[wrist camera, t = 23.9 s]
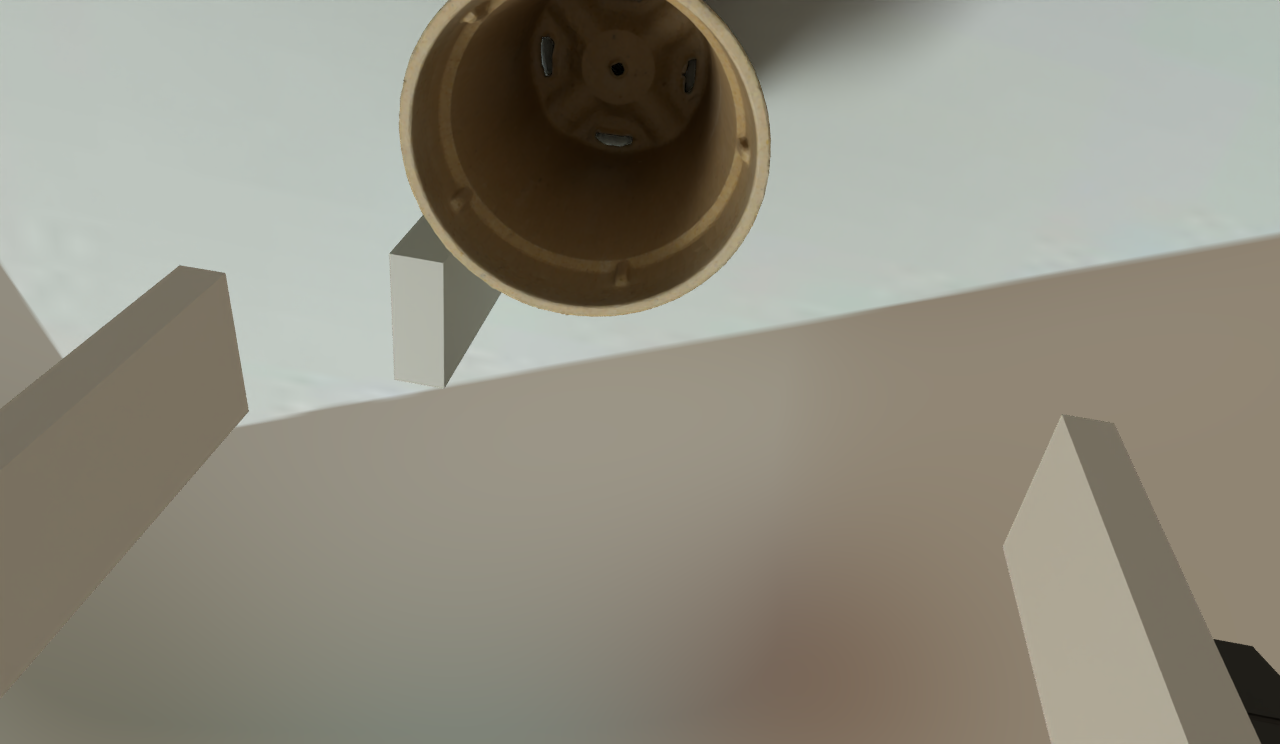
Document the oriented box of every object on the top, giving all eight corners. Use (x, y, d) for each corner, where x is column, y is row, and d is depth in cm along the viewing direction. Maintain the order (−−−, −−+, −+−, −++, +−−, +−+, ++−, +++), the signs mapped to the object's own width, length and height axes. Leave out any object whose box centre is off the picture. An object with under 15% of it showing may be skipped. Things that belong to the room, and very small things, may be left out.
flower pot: (722, -143, 27) (711, -109, 20) (796, 157, 32) (808, 273, 24) (435, -39, 29) (331, 25, 22) (543, 226, 34) (486, 349, 27)
